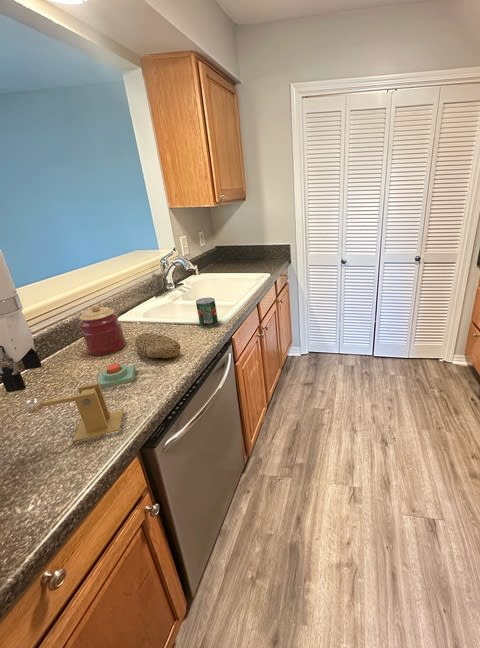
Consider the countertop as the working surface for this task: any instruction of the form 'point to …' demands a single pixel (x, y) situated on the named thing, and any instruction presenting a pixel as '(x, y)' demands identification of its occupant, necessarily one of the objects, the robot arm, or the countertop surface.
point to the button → (113, 368)
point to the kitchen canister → (101, 330)
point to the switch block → (117, 376)
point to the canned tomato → (207, 312)
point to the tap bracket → (95, 413)
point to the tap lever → (48, 402)
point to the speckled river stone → (157, 346)
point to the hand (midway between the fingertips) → (25, 378)
